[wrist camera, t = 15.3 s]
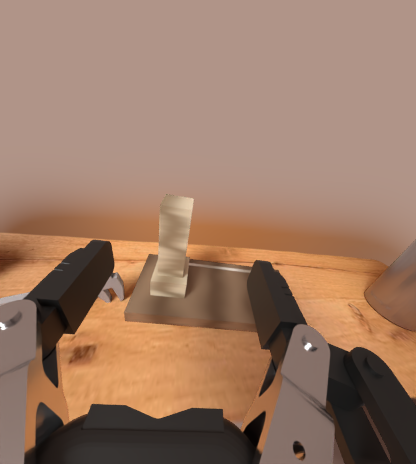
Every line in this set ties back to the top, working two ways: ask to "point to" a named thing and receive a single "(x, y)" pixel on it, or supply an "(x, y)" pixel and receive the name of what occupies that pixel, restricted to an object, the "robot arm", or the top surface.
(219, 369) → the top surface
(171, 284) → the beige tall block
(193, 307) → the board
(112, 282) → the caliper
